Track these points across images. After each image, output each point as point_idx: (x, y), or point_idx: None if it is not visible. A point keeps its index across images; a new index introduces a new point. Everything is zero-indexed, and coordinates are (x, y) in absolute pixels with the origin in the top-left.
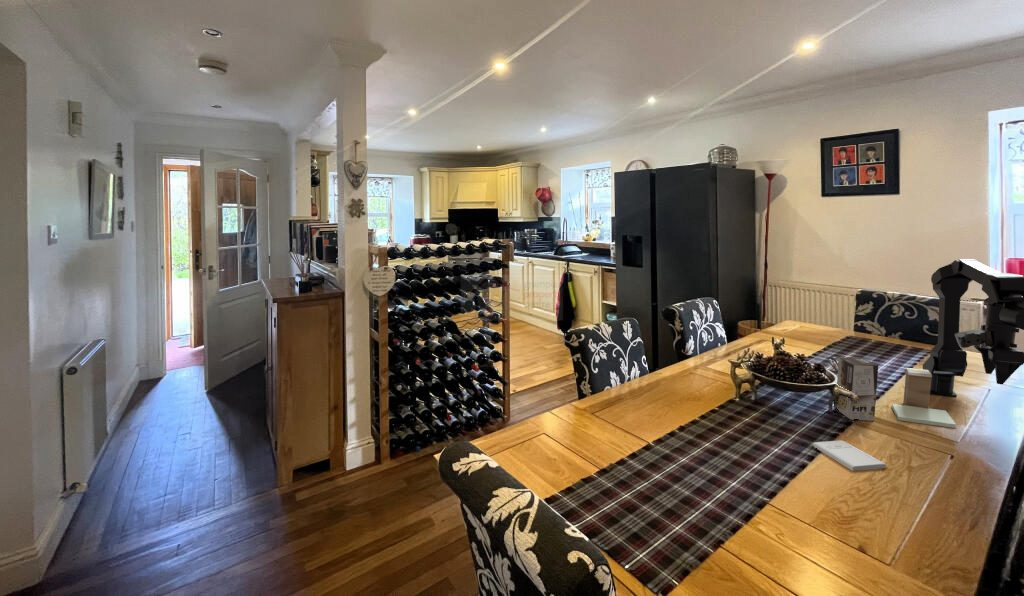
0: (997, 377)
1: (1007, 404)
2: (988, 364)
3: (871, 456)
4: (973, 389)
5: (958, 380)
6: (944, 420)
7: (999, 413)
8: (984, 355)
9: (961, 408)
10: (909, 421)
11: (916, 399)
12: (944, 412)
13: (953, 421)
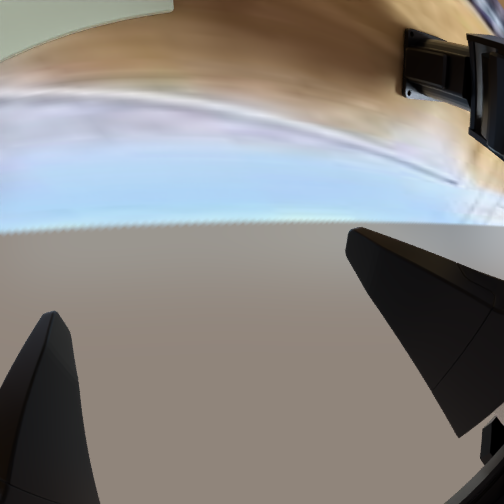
0: (14, 364)
1: (375, 206)
2: (406, 286)
3: None
4: (453, 153)
5: None
6: (9, 23)
7: (285, 184)
8: (487, 316)
9: (288, 78)
10: None
11: None
12: (137, 5)
13: (15, 51)
